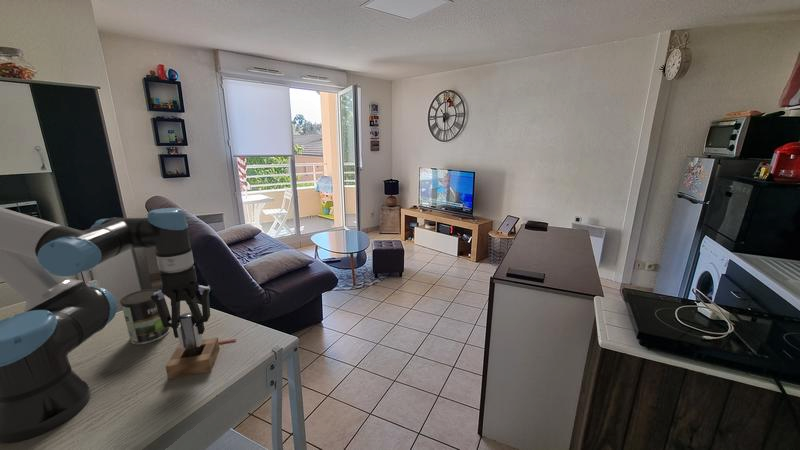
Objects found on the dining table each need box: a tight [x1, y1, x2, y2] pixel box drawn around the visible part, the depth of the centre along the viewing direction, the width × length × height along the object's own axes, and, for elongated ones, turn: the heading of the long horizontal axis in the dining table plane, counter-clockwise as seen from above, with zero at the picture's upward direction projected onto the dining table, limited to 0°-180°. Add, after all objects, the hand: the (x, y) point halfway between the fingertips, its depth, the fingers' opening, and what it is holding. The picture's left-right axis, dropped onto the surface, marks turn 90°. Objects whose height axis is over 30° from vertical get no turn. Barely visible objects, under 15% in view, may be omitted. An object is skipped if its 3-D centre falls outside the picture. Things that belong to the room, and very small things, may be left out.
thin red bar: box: [218, 338, 237, 345], centre depth 96 cm, size 14×1×1 cm, turn 107°
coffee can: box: [119, 288, 171, 346], centre depth 98 cm, size 10×10×14 cm
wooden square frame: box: [165, 336, 220, 380], centre depth 87 cm, size 10×10×4 cm
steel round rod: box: [179, 312, 201, 357], centre depth 86 cm, size 3×3×14 cm
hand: (192, 344), depth 86 cm, fingers closed on steel round rod, 3 cm apart
